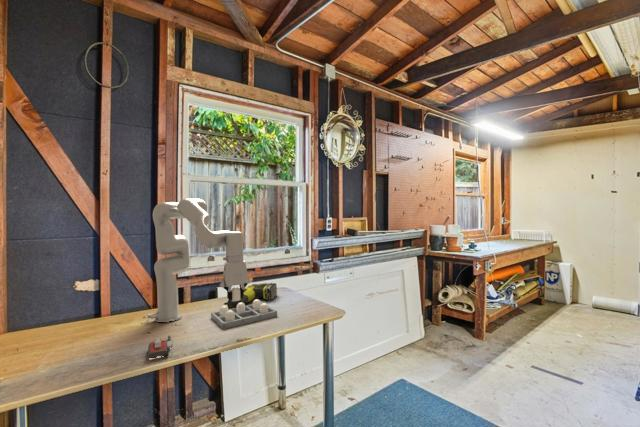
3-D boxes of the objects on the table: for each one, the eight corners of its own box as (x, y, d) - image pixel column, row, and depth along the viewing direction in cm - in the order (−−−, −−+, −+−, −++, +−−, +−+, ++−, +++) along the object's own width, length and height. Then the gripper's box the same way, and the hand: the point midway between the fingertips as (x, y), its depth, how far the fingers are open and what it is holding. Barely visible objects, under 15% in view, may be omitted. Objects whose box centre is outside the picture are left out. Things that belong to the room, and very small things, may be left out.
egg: (232, 301, 140) (232, 288, 139) (229, 299, 143) (229, 286, 143) (242, 300, 142) (241, 287, 142) (238, 297, 146) (238, 285, 146)
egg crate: (223, 329, 146) (222, 315, 146) (211, 317, 161) (210, 305, 161) (277, 316, 162) (276, 303, 162) (261, 307, 178) (261, 295, 177)
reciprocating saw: (255, 312, 167) (221, 312, 171) (282, 294, 209) (253, 294, 213) (255, 294, 167) (221, 294, 171) (281, 280, 209) (253, 280, 213)
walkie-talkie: (174, 358, 119) (172, 338, 137) (173, 346, 119) (171, 328, 137) (147, 363, 115) (149, 343, 133) (147, 351, 115) (148, 332, 133)
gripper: (218, 262, 134) (219, 304, 135) (255, 257, 144) (256, 297, 144) (213, 259, 140) (214, 300, 141) (249, 256, 150) (249, 294, 151)
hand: (235, 298), depth 143 cm, fingers closed on egg, 4 cm apart
